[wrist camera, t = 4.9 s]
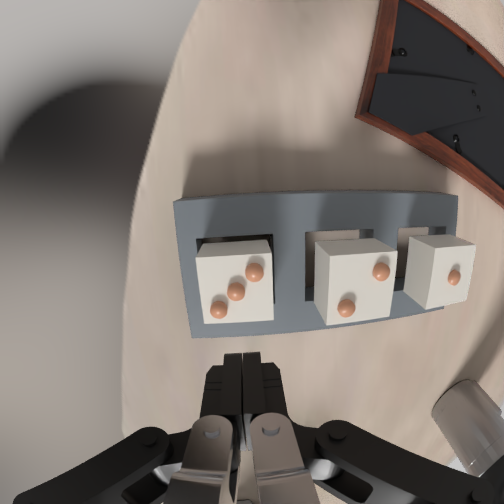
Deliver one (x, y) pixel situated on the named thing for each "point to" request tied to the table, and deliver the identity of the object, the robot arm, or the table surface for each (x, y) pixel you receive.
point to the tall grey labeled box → (244, 502)
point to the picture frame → (437, 92)
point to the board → (301, 244)
